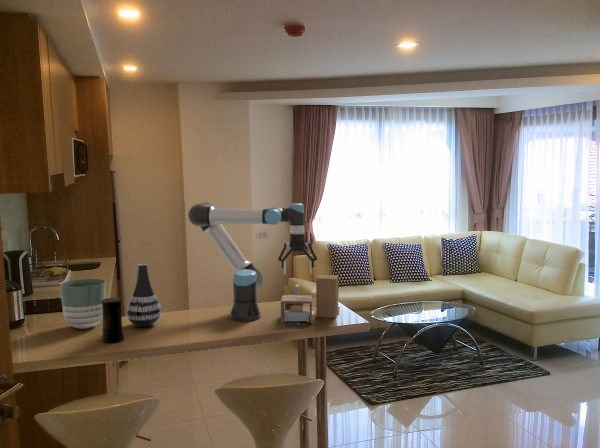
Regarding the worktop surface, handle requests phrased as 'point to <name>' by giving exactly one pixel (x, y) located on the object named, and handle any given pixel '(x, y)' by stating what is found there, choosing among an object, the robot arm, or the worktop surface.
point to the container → (112, 320)
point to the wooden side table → (296, 302)
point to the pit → (296, 325)
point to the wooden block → (327, 296)
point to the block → (296, 307)
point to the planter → (83, 302)
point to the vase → (143, 301)
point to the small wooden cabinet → (296, 313)
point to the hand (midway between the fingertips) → (297, 273)
